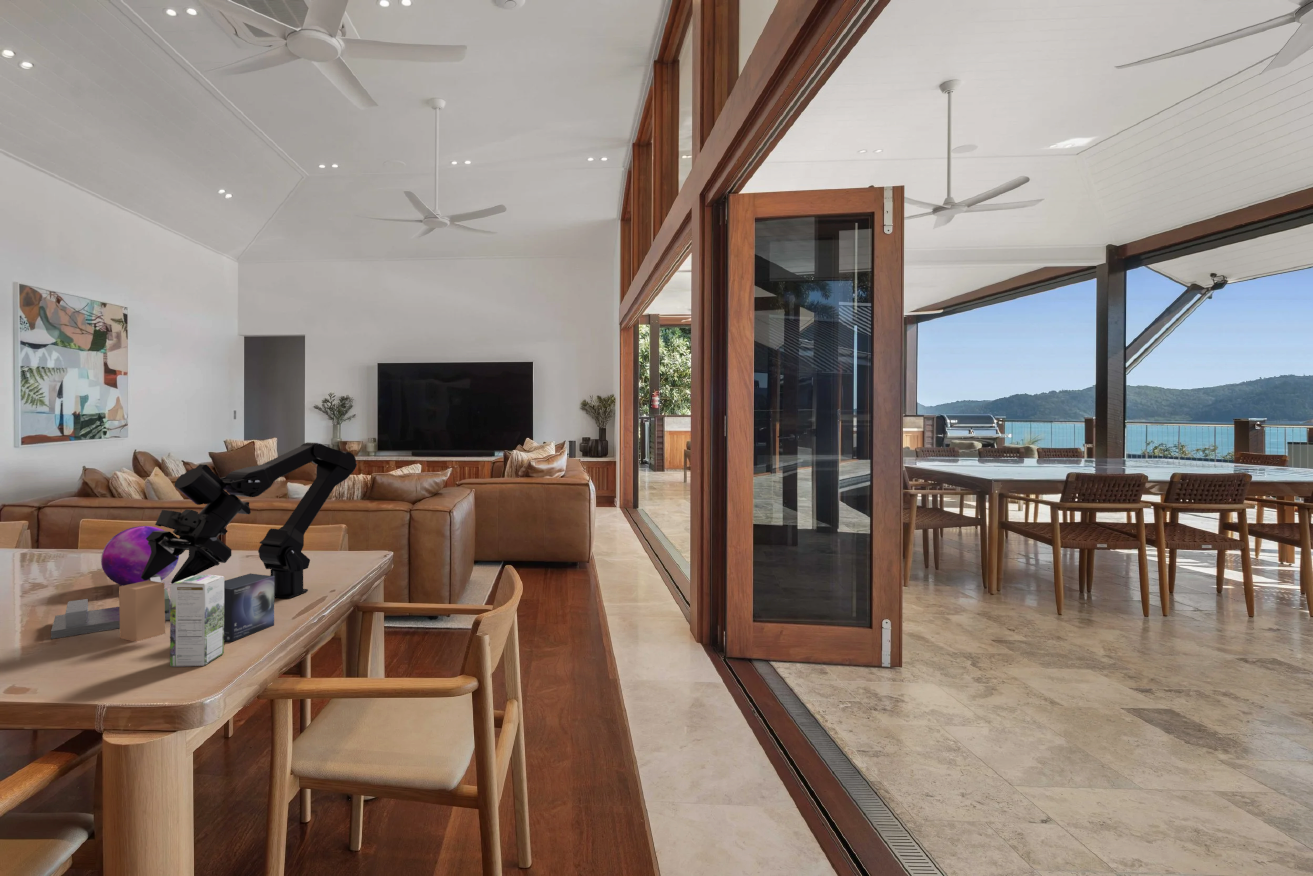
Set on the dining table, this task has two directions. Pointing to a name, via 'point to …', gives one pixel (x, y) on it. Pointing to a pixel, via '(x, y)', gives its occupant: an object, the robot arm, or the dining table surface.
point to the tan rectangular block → (142, 610)
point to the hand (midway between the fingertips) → (157, 581)
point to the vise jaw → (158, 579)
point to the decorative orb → (130, 556)
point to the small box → (248, 605)
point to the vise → (86, 619)
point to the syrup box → (196, 620)
